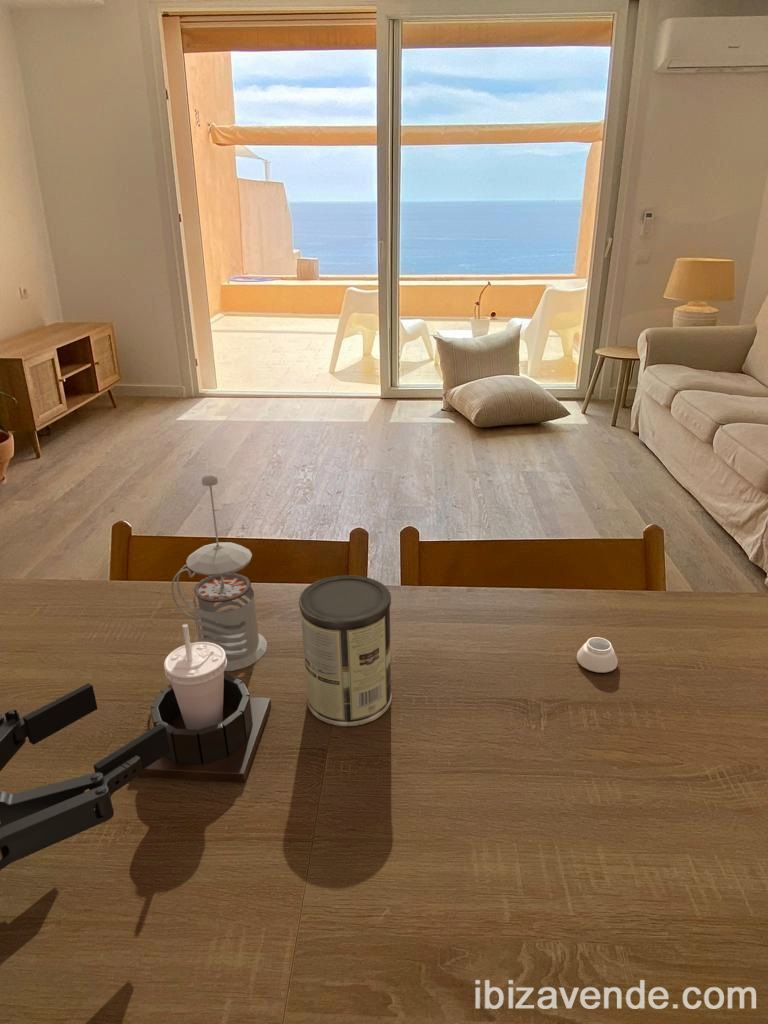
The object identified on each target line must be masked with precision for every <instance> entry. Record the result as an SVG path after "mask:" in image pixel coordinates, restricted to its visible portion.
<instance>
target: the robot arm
mask: <svg viewBox="0 0 768 1024" xmlns="http://www.w3.org/2000/svg"><path fill="white" fill-rule="evenodd" d="M97 710H98V704H97V699H96V695H95V690H94V686H93V684H91V683H90V682H89V683H85V684H83V685H82V686H80V687H77V688H76V689H74V690H72V691H70V692H69V693H67V694H64V695H63V696H61V697H59V698H57V699H55V700H53V701H51V702H49V703H48V704H44V705H43V706H41V707H39V708H37V709H35V710H33V711H31V712H29V713H28V714H26V715H23V716H22V717H21V716H20V713H19V710H18V709H10V710H8V711H6V712H4V714H3V713H0V772H1V771H2V770H3V769H4V768H5V767H6V765H7V764H8V763H9V762H10V761H11V760H12V759H13V757H14V756H15V755H16V754H17V752H18V751H20V749H21V748H22V747H23V746H24V744H25V743H26V741H27V740H26V739H28V742H29V743H30V744H31V745H32V746H35V745H36V744H38V743H40V742H41V741H43V740H45V739H47V738H48V737H50V736H52V735H54V734H56V733H58V732H59V731H61V730H63V729H65V728H67V727H68V726H70V725H72V724H73V723H75V722H78V721H79V720H81V719H82V718H85V717H86V716H87V715H88V716H89V714H92V713H94V712H95V711H97ZM169 752H170V748H169V743H168V737H167V732H166V726H164V725H162V724H161V723H160V724H158V725H157V726H155V727H154V728H153V727H151V728H150V729H149V730H147V731H145V732H144V733H142V734H141V735H139V736H137V737H136V738H134V739H132V740H131V741H129V742H128V743H127V744H125V745H123V746H121V747H120V748H118V749H116V750H115V751H114V752H112V753H110V754H109V755H107V756H105V757H104V758H103V759H100V760H99V761H98V762H96V763H94V764H93V770H94V772H93V773H89V774H85V775H81V776H78V777H77V776H76V777H73V778H69V779H66V780H63V781H57V782H55V783H50V784H47V785H43V786H39V787H35V788H32V789H28V790H24V791H20V792H15V793H9V792H8V791H2V790H1V791H0V871H1V870H3V869H4V868H6V867H8V866H9V865H10V864H13V863H15V862H17V861H19V860H22V859H24V858H26V857H28V856H31V855H33V854H35V853H38V852H40V851H41V850H44V849H46V848H48V847H51V846H53V845H55V844H57V843H60V842H62V841H64V840H67V839H69V838H71V837H73V836H76V835H78V834H80V833H83V832H85V831H87V830H89V829H92V828H94V827H96V826H98V825H101V824H103V823H106V822H108V821H109V820H111V819H112V818H113V817H114V815H115V811H114V806H113V802H112V799H111V796H112V795H113V794H114V793H115V792H117V791H119V790H120V789H122V788H124V787H126V785H128V784H129V783H131V782H132V781H133V780H135V779H137V778H139V777H138V776H139V775H140V774H141V773H142V772H143V769H145V768H146V767H148V766H149V765H151V764H152V763H154V762H155V761H157V760H158V759H160V758H161V757H163V756H164V755H166V754H167V753H169ZM87 790H88V791H87Z"/></svg>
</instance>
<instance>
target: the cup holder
mask: <svg viewBox="0 0 768 1024" xmlns="http://www.w3.org/2000/svg"><path fill="white" fill-rule="evenodd" d="M271 708H272V700H271V697H257V696H256V697H255V696H251V695H250V693H249V691H248V688H247V686H246V684H245V682H243V680H241V679H239V678H237V677H235V676H232V675H231V674H228V673H225V672H224V688H223V722H221V723H219V724H216V725H213V726H209V727H206V728H203V729H199V730H191V729H186V726H185V723H184V720H183V717H182V714H181V711H180V708H179V705H178V702H177V699H176V696H175V693H174V690H173V687H172V684H171V683H170V684H169V685H167V686H166V687H164V688H163V689H161V690H160V692H158V693H157V695H156V697H155V699H154V701H153V703H152V704H151V706H150V715H151V719H152V728H154V727H155V726H157V725H158V724H160V723H161V724H162V725H164V726H166V732H167V737H168V743H169V748H170V752H169V753H167V754H166V755H164V756H163V757H161V758H160V759H158V760H157V761H155V762H154V763H152V764H151V765H149V766H148V767H146V768H145V769H143V772H142V773H141V774H140V775H139V776H138V777H137V778H154V779H171V780H173V779H174V780H191V781H208V782H209V781H210V782H227V783H228V782H229V783H246V780H247V777H248V775H249V774H248V773H249V771H250V768H251V766H252V762H253V760H254V756H255V754H256V751H257V748H258V745H259V742H260V740H261V737H262V736H261V735H262V734H263V731H264V727H265V725H266V722H267V719H268V716H269V713H270V711H271Z"/></svg>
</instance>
